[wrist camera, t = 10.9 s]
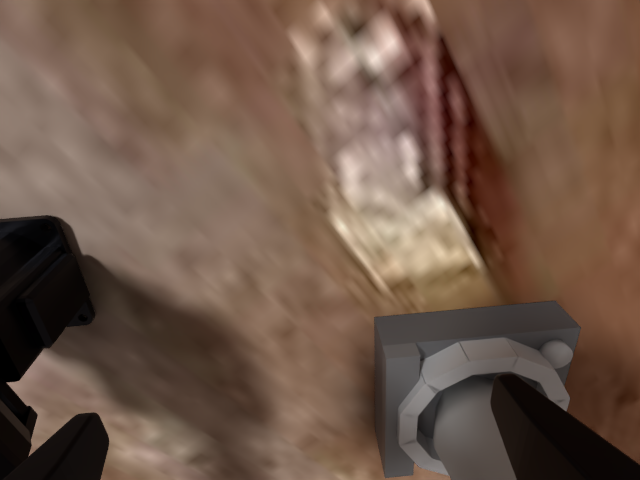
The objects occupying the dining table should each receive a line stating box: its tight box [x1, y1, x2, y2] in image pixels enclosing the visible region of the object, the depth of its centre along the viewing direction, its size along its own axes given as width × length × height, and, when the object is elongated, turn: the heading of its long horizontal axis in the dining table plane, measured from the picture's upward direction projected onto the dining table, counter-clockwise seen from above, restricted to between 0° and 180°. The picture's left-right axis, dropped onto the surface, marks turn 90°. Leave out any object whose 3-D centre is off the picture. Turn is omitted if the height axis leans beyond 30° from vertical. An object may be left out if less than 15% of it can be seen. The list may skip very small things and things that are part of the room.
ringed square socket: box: [374, 301, 581, 478], centre depth 25 cm, size 11×10×4 cm
